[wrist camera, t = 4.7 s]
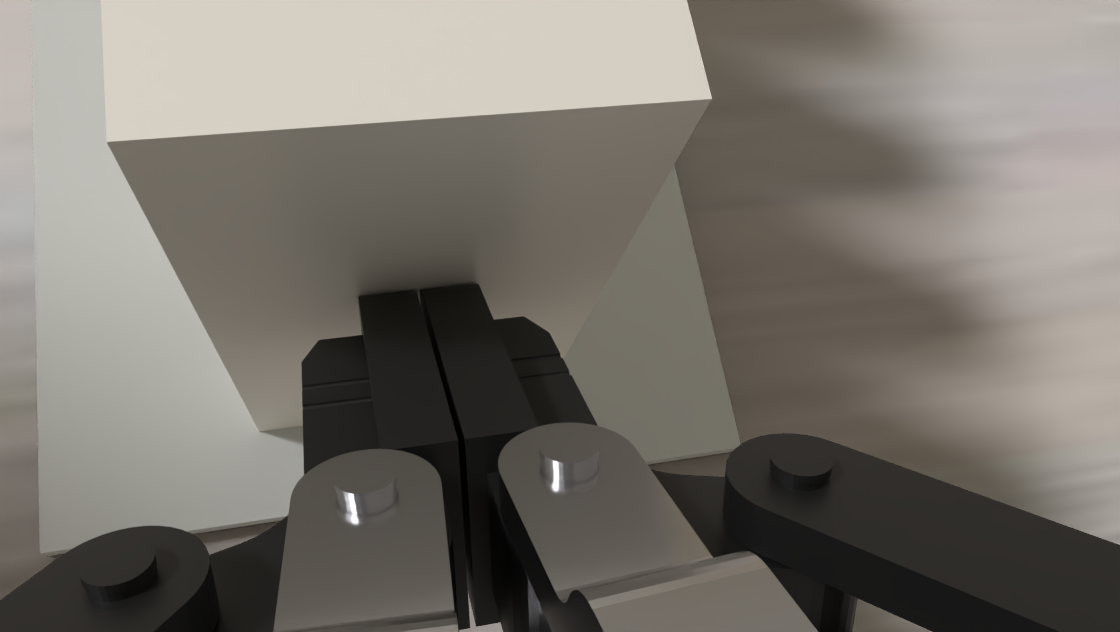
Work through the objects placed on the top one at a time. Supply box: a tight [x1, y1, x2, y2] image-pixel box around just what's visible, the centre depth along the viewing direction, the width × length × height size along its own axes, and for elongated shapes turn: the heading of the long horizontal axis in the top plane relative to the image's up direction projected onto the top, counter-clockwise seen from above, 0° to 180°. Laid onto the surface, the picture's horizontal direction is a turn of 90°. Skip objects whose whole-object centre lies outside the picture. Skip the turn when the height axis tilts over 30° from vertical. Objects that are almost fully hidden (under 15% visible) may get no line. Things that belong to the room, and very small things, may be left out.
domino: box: [101, 0, 712, 432], centre depth 13 cm, size 5×2×10 cm, turn 101°
